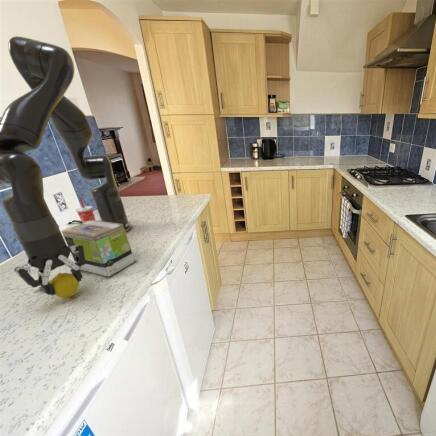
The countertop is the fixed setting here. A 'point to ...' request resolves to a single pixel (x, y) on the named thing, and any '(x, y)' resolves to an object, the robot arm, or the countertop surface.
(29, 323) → the countertop surface
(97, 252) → the tea box
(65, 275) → the lemon
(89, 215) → the beverage cup
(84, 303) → the countertop surface
